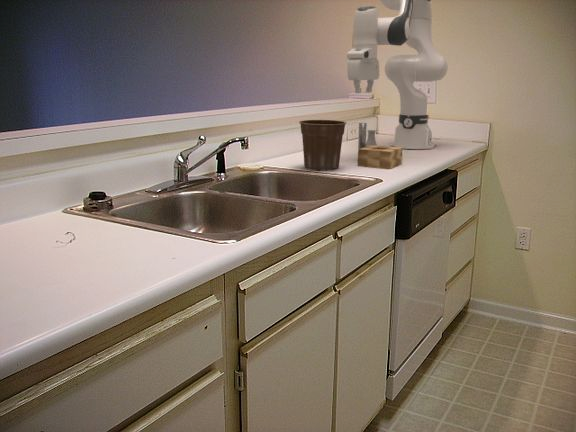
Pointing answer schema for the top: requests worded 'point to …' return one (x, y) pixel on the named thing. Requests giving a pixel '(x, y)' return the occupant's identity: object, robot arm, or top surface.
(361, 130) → the rod
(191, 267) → the top surface
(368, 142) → the flask
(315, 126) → the plant pot
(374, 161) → the bead block
